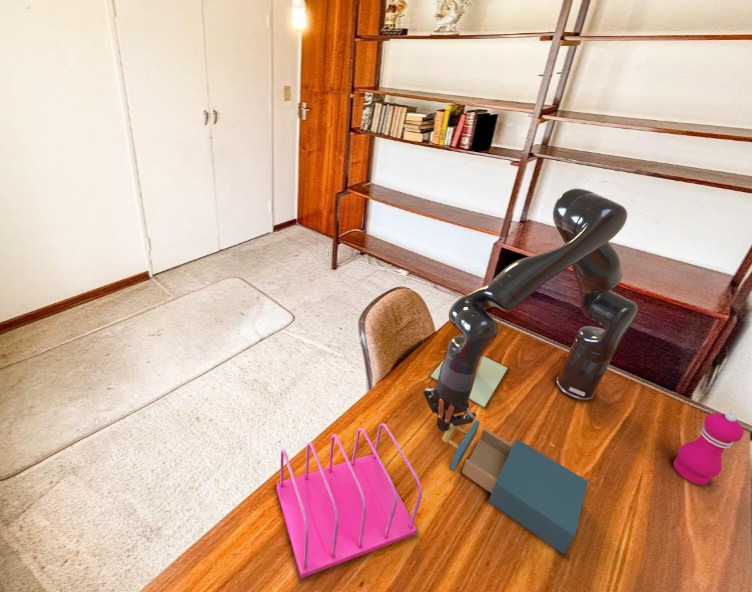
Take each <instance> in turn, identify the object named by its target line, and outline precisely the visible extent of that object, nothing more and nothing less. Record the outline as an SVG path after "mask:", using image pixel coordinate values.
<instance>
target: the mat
mask: <svg viewBox="0 0 752 592" xmlns="http://www.w3.org/2000/svg"><path fill="white" fill-rule="evenodd" d="M443 361H444V359H443V360H442V361H441V362H440V364H439V365H438V366H437V367H436V369H435V370H434V371H433V372H432V373H431V374H430V377H431V378H432V379H434V380H436V381H438V377H439V373H440V368H441V366H442V363H443ZM507 371H508V367H506V366H505V365H502V364H500V363H498V362H496V361H494V360H492V359H491V358H488V357H486V356H485V355H483V358H482V362H481V365H480V368H479V371H478V373H477V375H476V378H475V381H474V384H473V387H472V391H471V394H470V397H469V400H471V401H472V402H475V403H476V404H477V405H479V406H481V407H483V408H485V407H486V406H487V404H488V402H489V401H490V399H491V397H492V395H493V394H494V393H495V390H496V389H497V387H499V384H500V382H501V381H502V379H503V377H504V376H505V374H506V372H507Z"/></svg>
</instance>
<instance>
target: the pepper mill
mask: <svg viewBox="0 0 752 592" xmlns="http://www.w3.org/2000/svg"><path fill="white" fill-rule="evenodd" d="M743 437H744V428H743V426H742V425H741V424H740V422H739V421H738V417H737V415H736V414H734V413H732V412H727V413H720V412H714V413H710V414H707V415H706V417H704V420H703V426H702V428H701V429H700V436H699V437H698V438H696V439H695V440H693V441H688V442H686V443H684V444H682V445H681V446H680V447H679V448H678V449H677V456H676V458H675V459H674V461H673V462H672V465H673V467H674V469H675V471H676V472H678V474H679V475H680V476H682V477H683V478H684V479H685V480H687V481H688V482H690V483H692V484H695V485H698V486H699V485H700V486H705V485H707V484H708V483H709V482H710V481H711V479H712V478H715V477H717V476H719V475H720V473H721V471H722V468H723V463H722V461H723V460H722V456H723V453H724V450H726V449H730V448H731V447H732V445H734V443H737V442H739V441H741V440H742V439H743Z"/></svg>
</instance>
